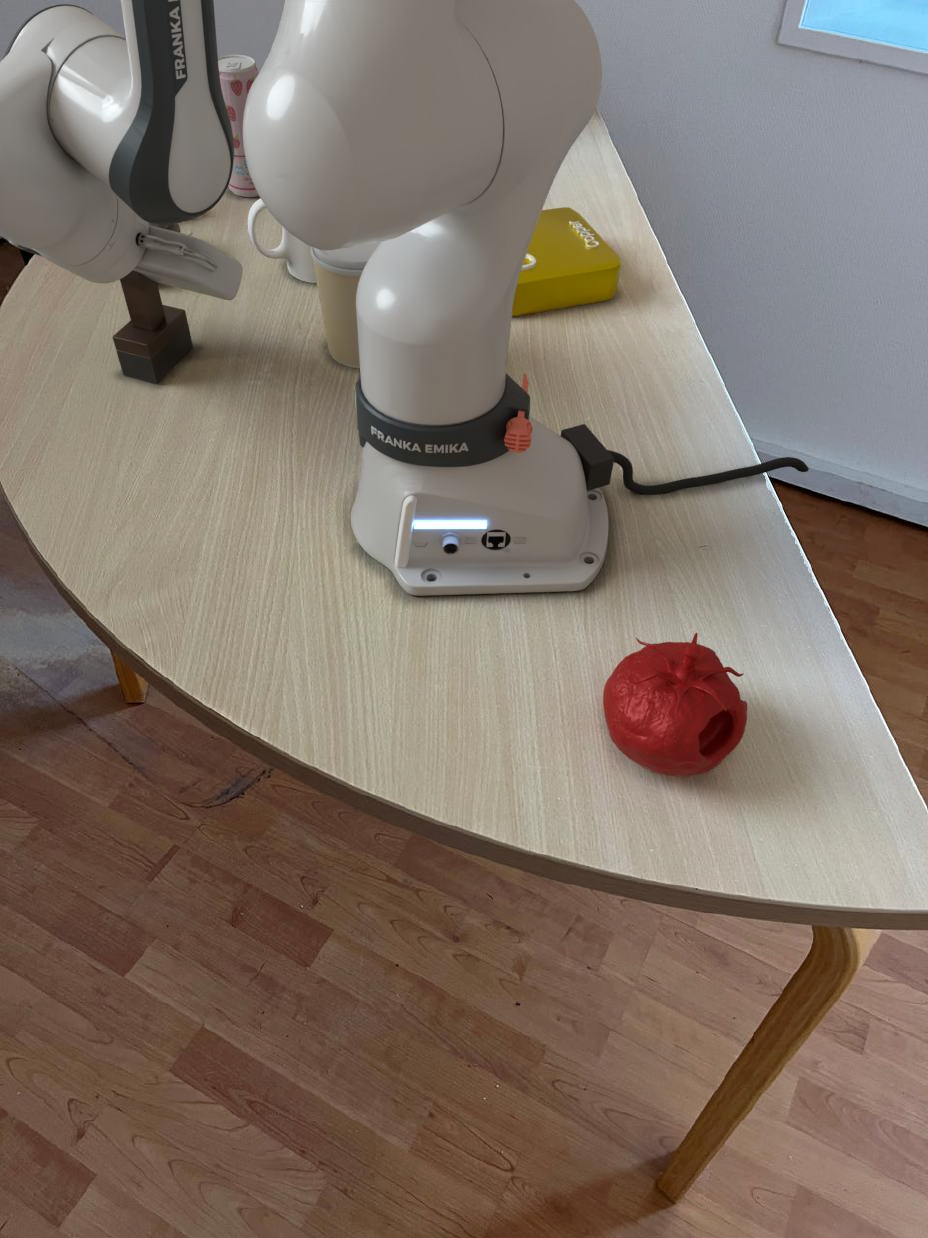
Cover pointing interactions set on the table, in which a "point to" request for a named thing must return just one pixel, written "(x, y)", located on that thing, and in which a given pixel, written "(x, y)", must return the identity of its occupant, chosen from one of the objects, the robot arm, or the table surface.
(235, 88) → the beverage can
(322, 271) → the coffee cup
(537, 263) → the element tile
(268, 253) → the mug
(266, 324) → the table surface
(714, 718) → the red tomato
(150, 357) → the brush
